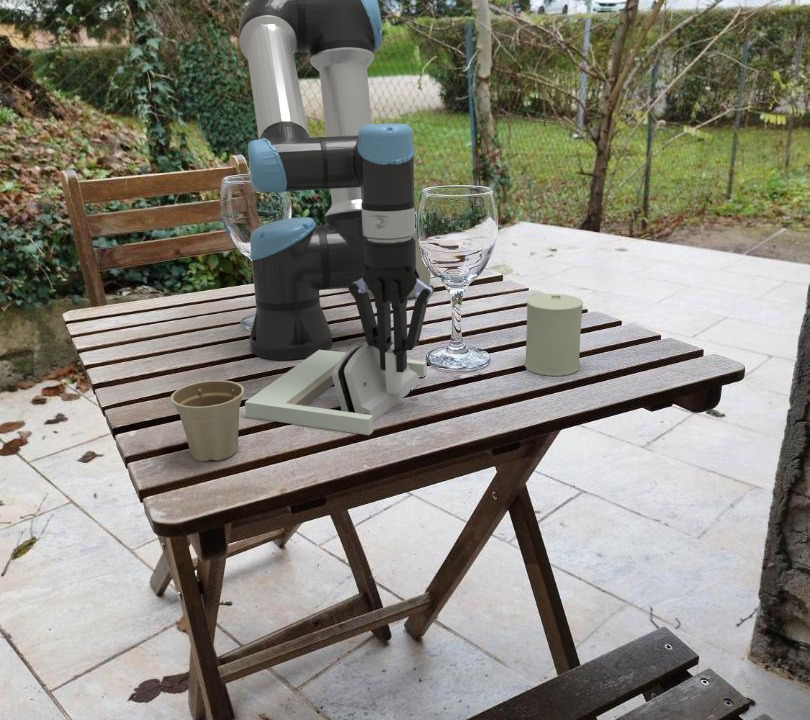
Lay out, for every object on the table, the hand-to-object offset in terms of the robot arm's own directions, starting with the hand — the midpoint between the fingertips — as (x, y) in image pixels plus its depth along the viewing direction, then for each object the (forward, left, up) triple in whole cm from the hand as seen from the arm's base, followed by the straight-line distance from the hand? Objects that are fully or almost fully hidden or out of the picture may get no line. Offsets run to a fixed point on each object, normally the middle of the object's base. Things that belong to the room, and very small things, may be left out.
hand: (394, 390), depth 117 cm
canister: (-22, +58, -2) cm, 62 cm away
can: (+20, +22, -2) cm, 30 cm away
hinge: (-3, +1, -2) cm, 4 cm away
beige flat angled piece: (-9, 0, -2) cm, 9 cm away
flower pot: (-17, -23, -2) cm, 29 cm away
